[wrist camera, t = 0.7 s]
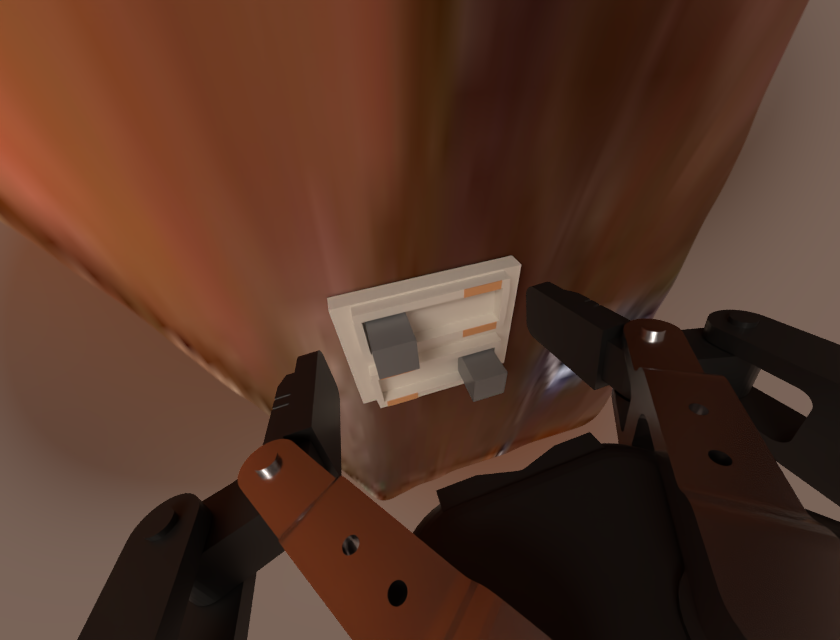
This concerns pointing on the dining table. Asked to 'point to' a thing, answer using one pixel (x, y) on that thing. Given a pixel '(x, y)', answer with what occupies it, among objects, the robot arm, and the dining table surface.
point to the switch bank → (429, 325)
